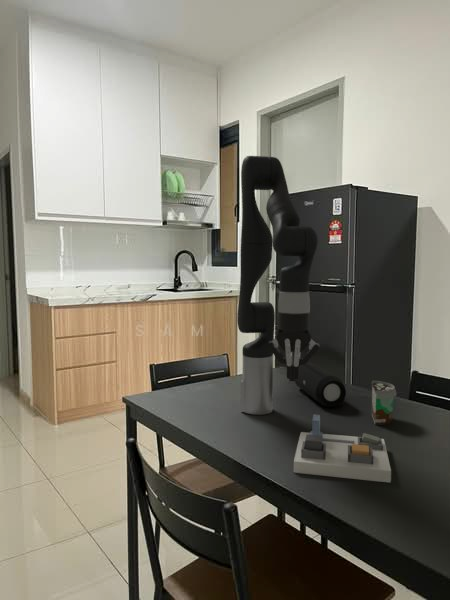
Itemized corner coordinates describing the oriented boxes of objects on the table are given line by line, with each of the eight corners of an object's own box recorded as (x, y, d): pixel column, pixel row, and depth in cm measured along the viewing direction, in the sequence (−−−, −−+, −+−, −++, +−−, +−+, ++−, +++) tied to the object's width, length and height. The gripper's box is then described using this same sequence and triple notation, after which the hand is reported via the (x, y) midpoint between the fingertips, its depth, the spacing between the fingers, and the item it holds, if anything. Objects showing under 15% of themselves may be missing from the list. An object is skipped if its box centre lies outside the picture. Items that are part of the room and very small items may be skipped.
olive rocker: (362, 441, 110) (363, 436, 110) (362, 437, 112) (363, 432, 112) (378, 446, 109) (379, 441, 109) (377, 441, 112) (378, 437, 111)
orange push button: (351, 460, 102) (351, 450, 102) (351, 453, 106) (351, 444, 106) (369, 461, 101) (369, 451, 101) (368, 455, 105) (368, 445, 105)
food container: (399, 428, 129) (400, 392, 128) (375, 426, 130) (376, 391, 130) (392, 413, 141) (393, 381, 140) (371, 412, 142) (371, 380, 142)
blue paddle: (309, 440, 113) (309, 420, 113) (310, 433, 117) (310, 414, 117) (321, 441, 112) (322, 421, 112) (322, 434, 116) (323, 415, 116)
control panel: (293, 472, 102) (293, 453, 102) (300, 441, 120) (300, 425, 119) (390, 482, 98) (391, 463, 97) (383, 448, 115) (383, 432, 115)
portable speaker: (291, 388, 170) (291, 361, 169) (317, 387, 172) (317, 360, 171) (318, 410, 145) (318, 378, 144) (348, 408, 147) (349, 377, 146)
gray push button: (305, 449, 105) (305, 440, 104) (306, 443, 108) (306, 434, 108) (321, 451, 104) (321, 441, 104) (322, 445, 107) (322, 435, 107)
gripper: (264, 311, 111) (263, 383, 113) (321, 312, 108) (319, 386, 110) (268, 307, 119) (268, 375, 120) (322, 309, 116) (320, 378, 117)
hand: (292, 380), depth 115 cm, fingers closed
